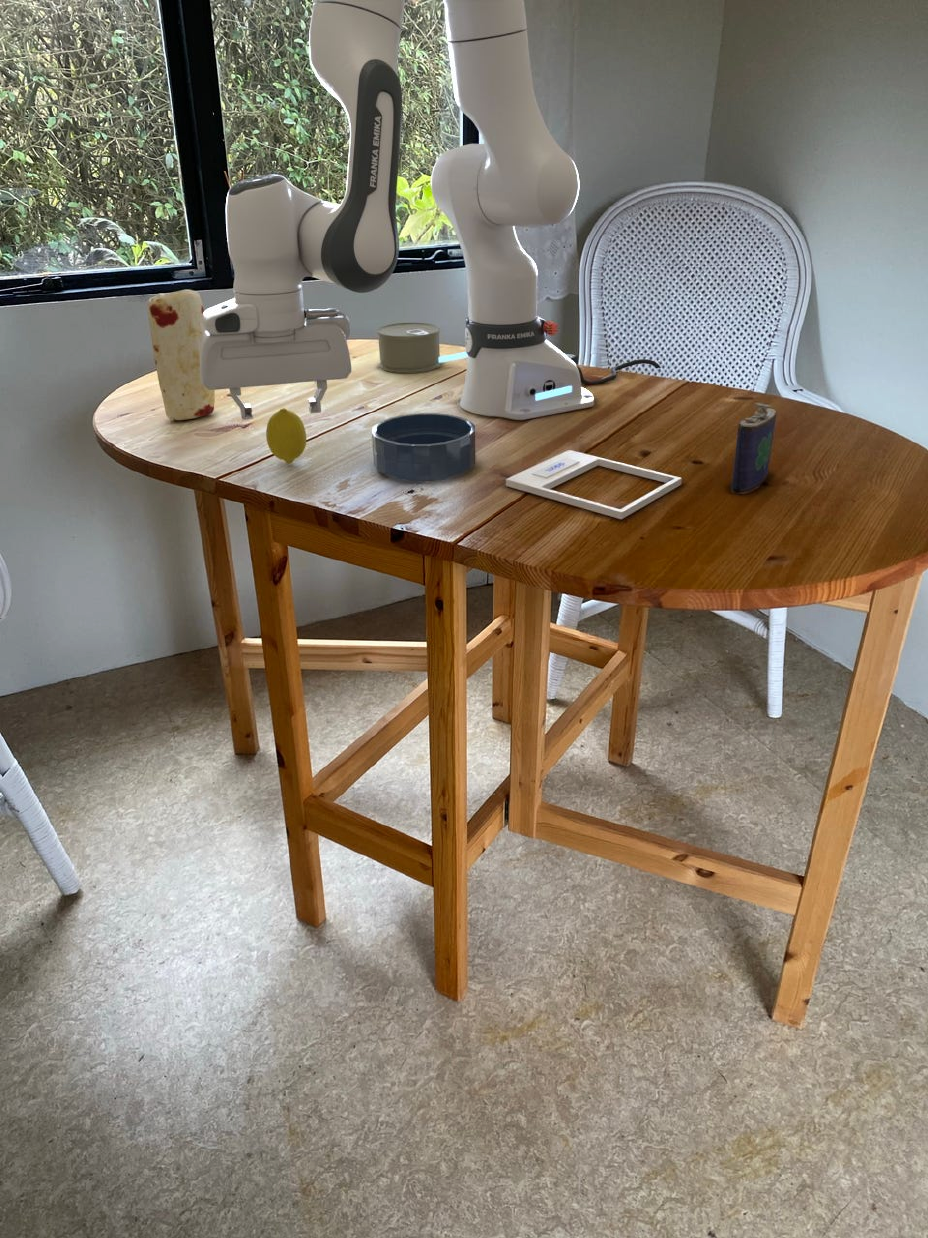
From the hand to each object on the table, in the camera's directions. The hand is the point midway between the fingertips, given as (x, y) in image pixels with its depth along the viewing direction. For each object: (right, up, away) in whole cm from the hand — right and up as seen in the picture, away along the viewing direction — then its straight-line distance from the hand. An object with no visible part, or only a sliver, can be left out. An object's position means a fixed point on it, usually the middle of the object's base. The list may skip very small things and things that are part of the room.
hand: (281, 415), depth 128 cm
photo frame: (+43, -11, -6) cm, 44 cm away
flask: (+63, -11, -6) cm, 65 cm away
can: (+15, +21, +51) cm, 57 cm away
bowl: (+20, -7, +2) cm, 21 cm away
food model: (-19, +5, +24) cm, 31 cm away
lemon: (0, -6, +4) cm, 7 cm away
